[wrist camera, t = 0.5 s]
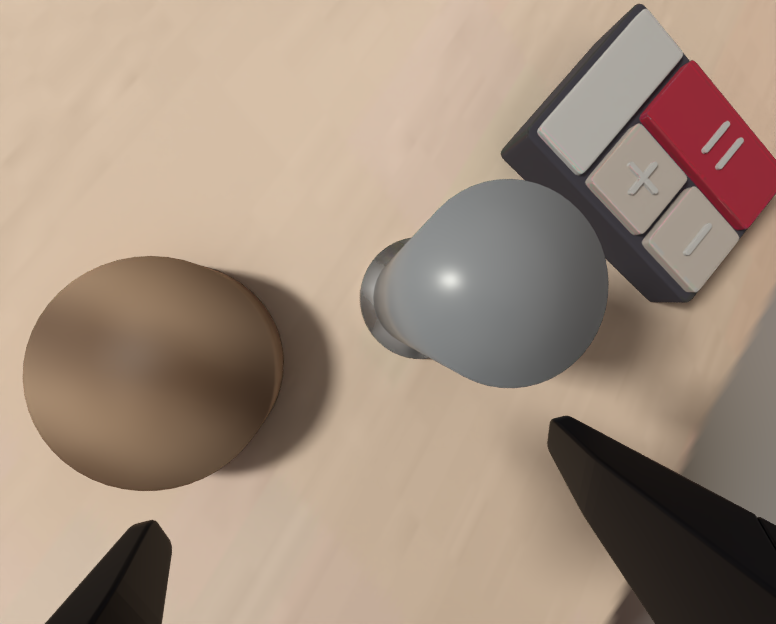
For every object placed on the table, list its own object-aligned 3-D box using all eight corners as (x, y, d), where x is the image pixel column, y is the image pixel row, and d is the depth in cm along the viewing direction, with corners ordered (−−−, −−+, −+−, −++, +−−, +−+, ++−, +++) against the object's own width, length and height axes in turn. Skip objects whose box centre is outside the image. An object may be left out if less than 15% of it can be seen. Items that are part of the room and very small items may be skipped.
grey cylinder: (451, 374, 24) (581, 451, 11) (341, 332, 23) (339, 361, 10) (492, 265, 24) (666, 214, 11) (385, 220, 23) (439, 106, 10)
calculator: (700, 306, 22) (531, 125, 20) (640, 304, 26) (496, 155, 24) (803, 174, 23) (652, -13, 21) (729, 194, 27) (597, 40, 25)
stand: (239, 492, 22) (223, 520, 19) (34, 427, 21) (-18, 446, 18) (313, 307, 23) (308, 307, 20) (117, 232, 21) (80, 219, 18)
